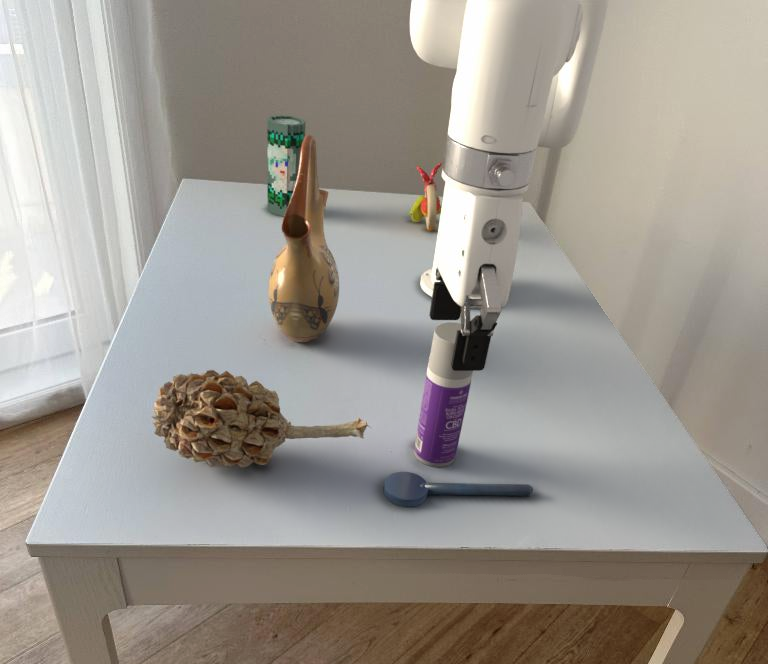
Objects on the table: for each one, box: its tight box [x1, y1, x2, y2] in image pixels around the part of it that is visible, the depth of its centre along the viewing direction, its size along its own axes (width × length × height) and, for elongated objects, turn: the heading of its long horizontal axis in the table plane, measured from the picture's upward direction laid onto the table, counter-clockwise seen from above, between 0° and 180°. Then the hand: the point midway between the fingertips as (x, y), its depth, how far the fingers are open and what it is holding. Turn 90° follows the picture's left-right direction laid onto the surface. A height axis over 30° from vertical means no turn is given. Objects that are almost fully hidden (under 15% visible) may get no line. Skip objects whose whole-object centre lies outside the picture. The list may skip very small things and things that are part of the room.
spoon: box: [383, 471, 534, 508], centre depth 77 cm, size 16×5×1 cm, turn 96°
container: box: [413, 321, 474, 468], centre depth 77 cm, size 5×5×15 cm
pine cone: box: [151, 369, 371, 468], centre depth 75 cm, size 22×10×10 cm, turn 98°
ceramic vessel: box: [268, 134, 340, 343], centre depth 91 cm, size 16×9×25 cm, turn 175°
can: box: [266, 114, 306, 217], centre depth 129 cm, size 6×6×15 cm
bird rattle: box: [408, 162, 443, 232], centre depth 132 cm, size 6×11×9 cm
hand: (455, 342), depth 73 cm, fingers open, 9 cm apart
